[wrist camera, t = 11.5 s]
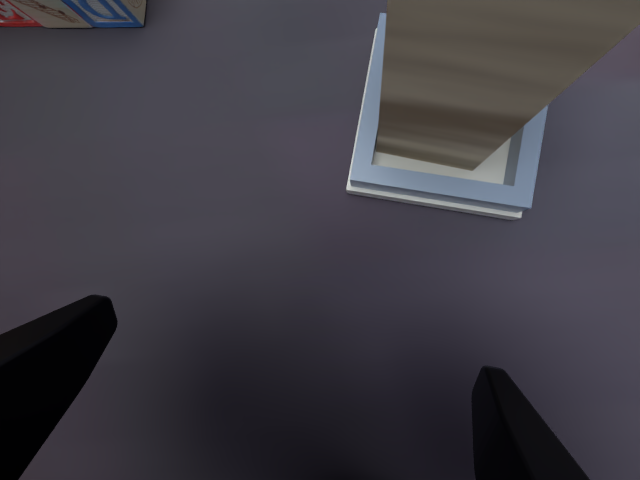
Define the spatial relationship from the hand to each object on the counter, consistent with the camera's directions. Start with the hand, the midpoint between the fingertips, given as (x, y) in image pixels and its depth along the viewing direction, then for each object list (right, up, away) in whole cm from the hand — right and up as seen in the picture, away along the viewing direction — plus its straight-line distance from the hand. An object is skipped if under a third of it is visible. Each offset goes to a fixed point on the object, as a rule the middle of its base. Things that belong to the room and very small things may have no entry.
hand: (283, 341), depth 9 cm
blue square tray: (+7, +8, +10) cm, 14 cm away
